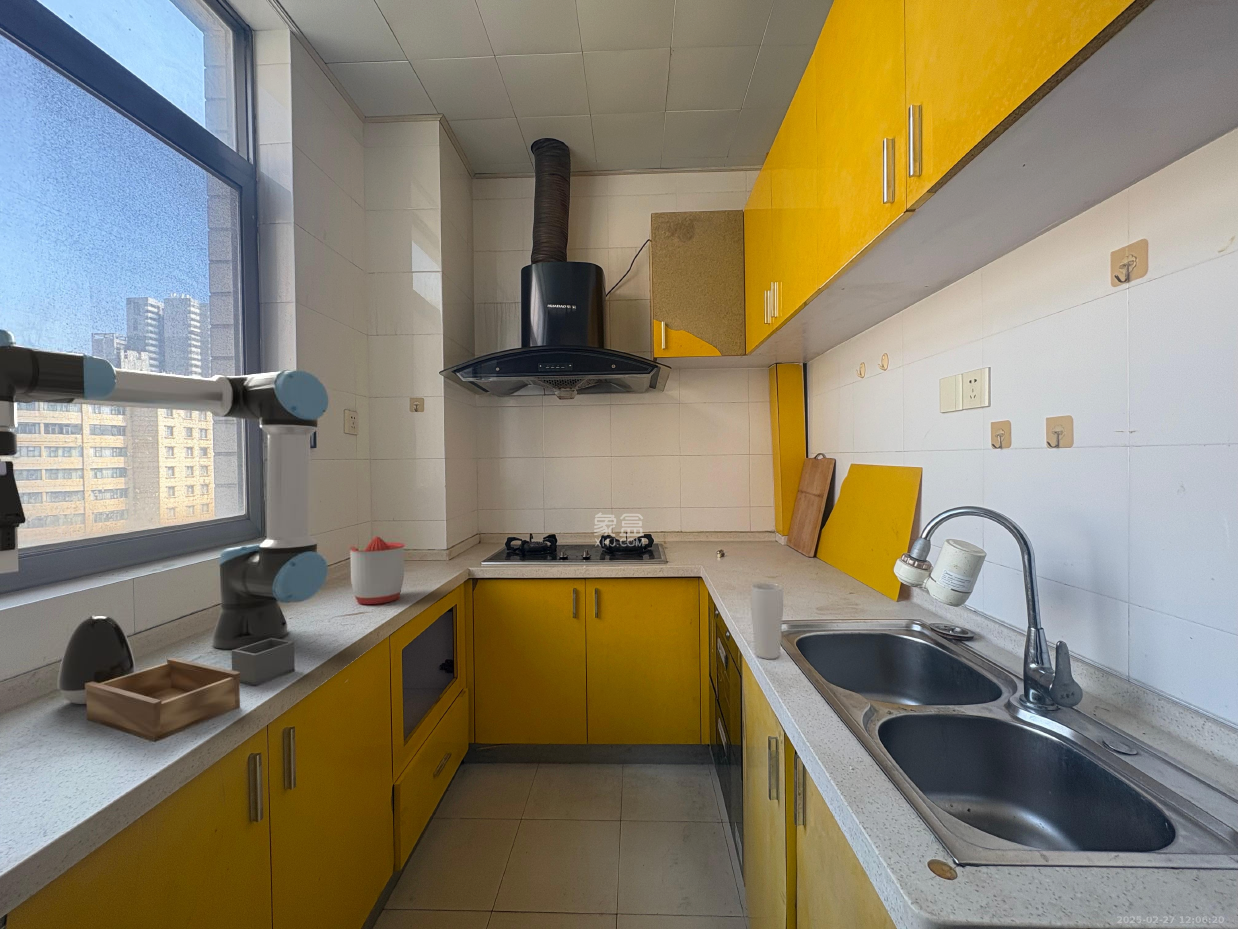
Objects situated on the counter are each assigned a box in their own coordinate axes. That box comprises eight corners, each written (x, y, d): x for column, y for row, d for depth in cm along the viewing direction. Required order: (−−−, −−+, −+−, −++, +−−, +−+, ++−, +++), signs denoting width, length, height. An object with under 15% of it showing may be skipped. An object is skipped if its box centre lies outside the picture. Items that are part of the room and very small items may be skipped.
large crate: (173, 689, 101) (173, 657, 101) (241, 706, 94) (240, 672, 94) (85, 719, 90) (84, 683, 90) (154, 742, 82) (153, 703, 82)
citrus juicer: (377, 591, 176) (376, 531, 176) (416, 596, 169) (415, 534, 169) (334, 603, 162) (333, 538, 162) (375, 609, 155) (374, 541, 154)
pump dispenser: (130, 681, 105) (128, 605, 105) (140, 695, 99) (138, 614, 99) (55, 700, 97) (53, 617, 97) (61, 716, 91) (59, 628, 91)
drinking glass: (774, 664, 110) (774, 591, 110) (745, 656, 114) (744, 586, 114) (789, 655, 115) (788, 585, 115) (760, 647, 119) (759, 581, 119)
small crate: (272, 666, 112) (271, 637, 112) (294, 670, 110) (294, 641, 110) (232, 680, 105) (231, 650, 105) (255, 686, 102) (254, 655, 102)
